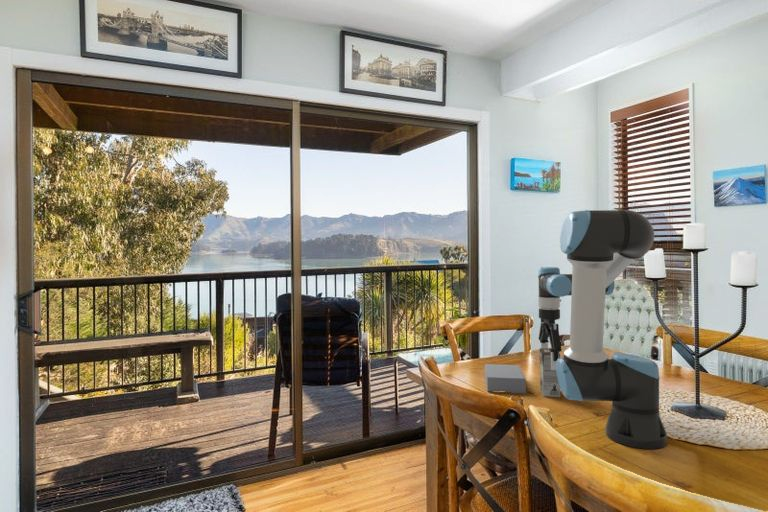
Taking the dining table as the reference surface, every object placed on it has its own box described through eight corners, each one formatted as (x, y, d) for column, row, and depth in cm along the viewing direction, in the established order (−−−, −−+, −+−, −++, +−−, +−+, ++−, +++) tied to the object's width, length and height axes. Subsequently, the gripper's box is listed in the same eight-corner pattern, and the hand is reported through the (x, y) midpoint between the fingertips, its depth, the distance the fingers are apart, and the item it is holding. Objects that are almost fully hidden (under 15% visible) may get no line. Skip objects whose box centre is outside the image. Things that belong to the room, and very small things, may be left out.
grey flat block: (525, 394, 168) (525, 378, 168) (487, 392, 170) (487, 377, 170) (519, 379, 188) (518, 365, 188) (484, 378, 190) (484, 364, 190)
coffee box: (539, 389, 173) (538, 347, 173) (556, 389, 172) (556, 348, 172) (542, 396, 164) (542, 352, 164) (561, 397, 163) (560, 353, 163)
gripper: (571, 313, 155) (571, 374, 155) (549, 303, 180) (549, 356, 180) (548, 313, 155) (549, 373, 156) (530, 303, 180) (530, 356, 181)
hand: (549, 364), depth 168 cm, fingers open, 13 cm apart
